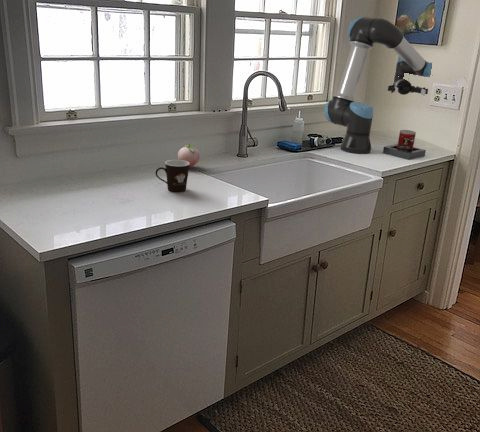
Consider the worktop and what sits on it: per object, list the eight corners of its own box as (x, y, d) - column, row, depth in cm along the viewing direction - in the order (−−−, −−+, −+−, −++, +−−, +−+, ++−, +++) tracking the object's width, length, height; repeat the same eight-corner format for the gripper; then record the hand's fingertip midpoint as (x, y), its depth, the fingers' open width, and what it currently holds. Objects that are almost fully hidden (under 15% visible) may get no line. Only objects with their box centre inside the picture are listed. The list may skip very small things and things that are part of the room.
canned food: (395, 153, 263) (399, 131, 259) (396, 150, 270) (400, 129, 266) (411, 155, 261) (415, 133, 257) (412, 152, 268) (416, 131, 264)
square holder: (408, 159, 256) (409, 153, 255) (382, 152, 266) (383, 146, 265) (424, 156, 265) (425, 150, 264) (398, 149, 275) (399, 143, 274)
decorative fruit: (173, 166, 218) (174, 142, 214) (190, 164, 222) (191, 140, 219) (185, 172, 211) (185, 147, 207) (202, 169, 215) (203, 146, 212)
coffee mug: (189, 186, 193) (190, 160, 190) (188, 194, 185) (188, 166, 182) (157, 185, 193) (158, 158, 189) (154, 192, 185) (155, 165, 181)
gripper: (425, 95, 284) (434, 101, 264) (378, 92, 286) (384, 97, 266) (428, 81, 281) (437, 86, 262) (381, 77, 283) (386, 82, 264)
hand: (410, 91), depth 264 cm, fingers open, 13 cm apart
